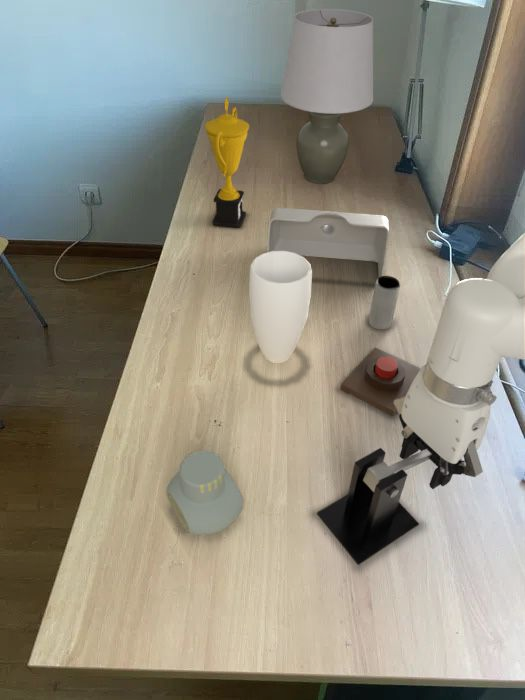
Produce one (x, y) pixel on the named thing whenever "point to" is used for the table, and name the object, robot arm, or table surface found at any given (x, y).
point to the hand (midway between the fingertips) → (423, 467)
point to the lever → (400, 464)
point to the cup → (279, 302)
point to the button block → (380, 382)
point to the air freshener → (204, 494)
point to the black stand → (369, 512)
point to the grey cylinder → (384, 302)
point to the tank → (330, 234)
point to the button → (386, 367)
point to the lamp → (327, 83)
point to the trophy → (228, 165)
